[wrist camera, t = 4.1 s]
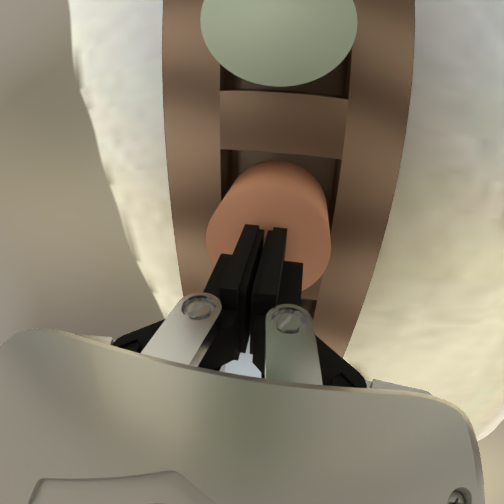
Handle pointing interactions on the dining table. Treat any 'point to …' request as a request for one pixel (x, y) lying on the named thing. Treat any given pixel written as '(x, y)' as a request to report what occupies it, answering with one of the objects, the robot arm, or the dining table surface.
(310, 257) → the button terracotta
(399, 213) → the dining table surface
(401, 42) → the board
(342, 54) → the button sage
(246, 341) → the robot arm
